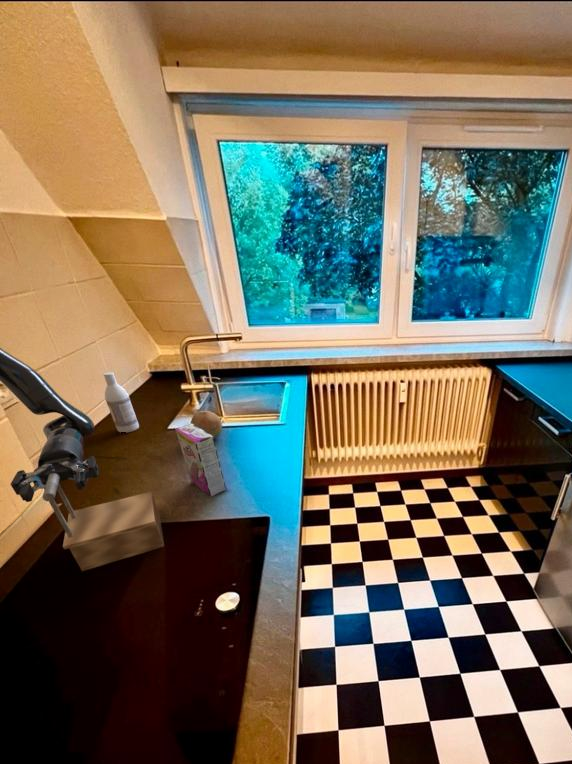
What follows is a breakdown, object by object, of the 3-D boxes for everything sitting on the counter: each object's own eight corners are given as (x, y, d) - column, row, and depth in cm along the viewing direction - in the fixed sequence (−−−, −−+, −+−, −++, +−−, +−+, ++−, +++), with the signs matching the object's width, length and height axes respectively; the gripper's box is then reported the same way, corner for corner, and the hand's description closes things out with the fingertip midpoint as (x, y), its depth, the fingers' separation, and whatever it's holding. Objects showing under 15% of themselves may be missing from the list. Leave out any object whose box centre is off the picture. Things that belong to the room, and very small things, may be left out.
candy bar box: (190, 482, 107) (173, 428, 98) (206, 475, 110) (192, 422, 101) (210, 498, 100) (194, 442, 92) (227, 490, 104) (214, 435, 95)
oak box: (82, 571, 79) (69, 548, 76) (86, 535, 88) (74, 513, 85) (164, 546, 85) (155, 524, 82) (159, 515, 94) (152, 494, 91)
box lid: (64, 549, 75) (36, 501, 69) (70, 514, 85) (46, 469, 78) (155, 524, 82) (137, 478, 75) (152, 494, 91) (136, 451, 85)
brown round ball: (229, 432, 133) (223, 405, 128) (217, 446, 125) (211, 417, 120) (202, 432, 134) (195, 404, 129) (189, 445, 126) (181, 416, 120)
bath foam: (116, 428, 137) (94, 372, 127) (137, 423, 141) (118, 368, 130) (119, 435, 133) (97, 378, 122) (141, 430, 136) (121, 374, 125)
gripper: (15, 448, 82) (-3, 485, 70) (92, 434, 88) (88, 466, 76) (31, 478, 86) (17, 518, 74) (104, 463, 92) (102, 497, 80)
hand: (53, 491), depth 75 cm, fingers open, 8 cm apart
